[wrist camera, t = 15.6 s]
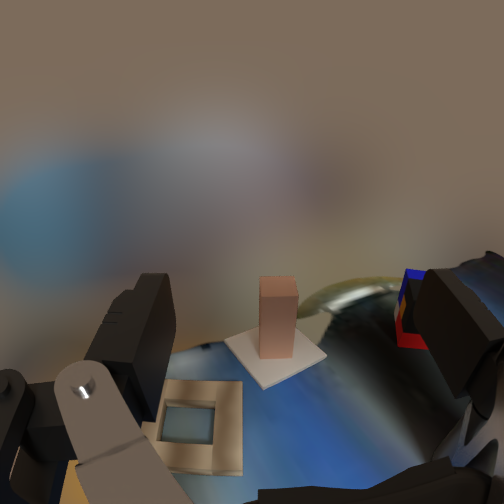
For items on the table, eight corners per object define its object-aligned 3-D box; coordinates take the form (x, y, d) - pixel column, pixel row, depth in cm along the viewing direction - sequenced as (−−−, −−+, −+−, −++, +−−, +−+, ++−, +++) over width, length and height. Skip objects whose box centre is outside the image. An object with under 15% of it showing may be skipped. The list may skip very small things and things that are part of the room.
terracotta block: (288, 336, 53) (294, 276, 47) (292, 358, 48) (298, 295, 43) (258, 337, 53) (259, 276, 47) (259, 359, 48) (261, 296, 43)
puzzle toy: (393, 312, 58) (405, 268, 54) (438, 317, 56) (453, 274, 51) (397, 346, 50) (413, 300, 45) (447, 351, 48) (467, 306, 43)
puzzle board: (242, 389, 43) (242, 381, 43) (242, 476, 31) (242, 470, 30) (148, 386, 43) (145, 377, 42) (129, 466, 31) (124, 460, 30)
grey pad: (283, 318, 58) (283, 315, 58) (326, 357, 49) (327, 355, 49) (224, 341, 52) (223, 339, 52) (262, 390, 43) (263, 387, 43)
